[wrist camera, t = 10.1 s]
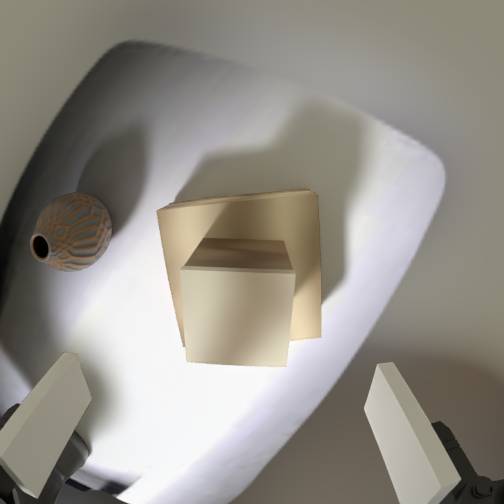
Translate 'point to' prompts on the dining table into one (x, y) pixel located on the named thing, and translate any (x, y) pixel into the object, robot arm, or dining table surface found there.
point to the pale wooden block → (238, 302)
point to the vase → (71, 232)
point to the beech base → (257, 228)
